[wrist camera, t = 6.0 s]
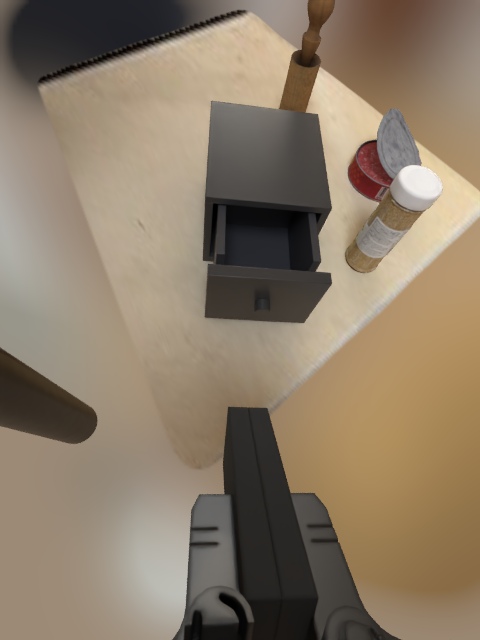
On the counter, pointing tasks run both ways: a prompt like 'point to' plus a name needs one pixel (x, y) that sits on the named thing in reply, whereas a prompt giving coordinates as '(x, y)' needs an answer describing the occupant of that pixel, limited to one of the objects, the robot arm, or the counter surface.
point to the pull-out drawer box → (264, 265)
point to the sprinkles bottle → (394, 216)
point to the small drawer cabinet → (264, 163)
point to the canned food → (383, 157)
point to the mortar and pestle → (306, 59)
